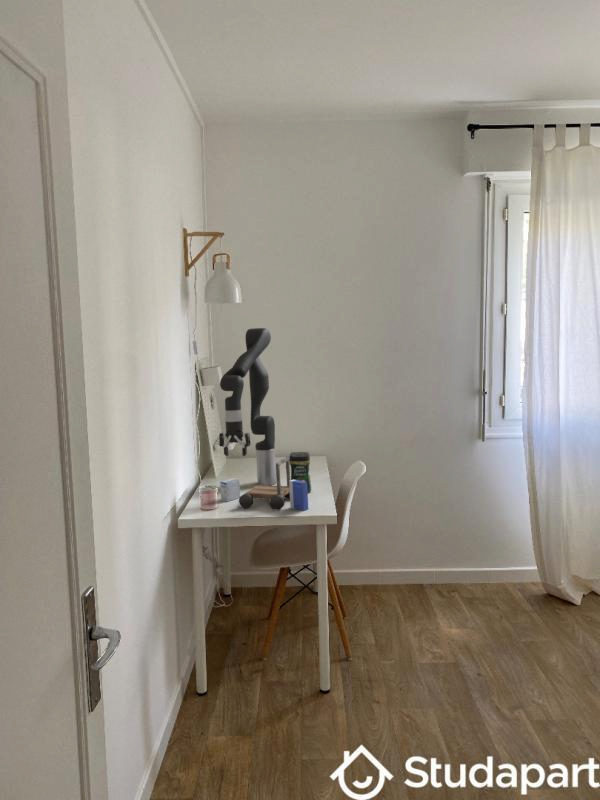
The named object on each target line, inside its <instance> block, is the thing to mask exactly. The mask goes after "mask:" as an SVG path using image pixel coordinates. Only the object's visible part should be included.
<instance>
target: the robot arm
mask: <svg viewBox="0 0 600 800" xmlns="http://www.w3.org/2000/svg"><path fill="white" fill-rule="evenodd" d="M271 337H272V336H271V332H270V331H269V329H267V328H266V327H258V328H256V327H255V328H249V329H247V330H246V333H245V337H244V338H245V348H246V351H245V352H243V353H242V354H241V355H240V356H238V358H237V359H236V361H235V362H234V364H233V366H232V367H230V369H228V371H226V372H225V373H224V374H223V375H222V377H221V379H220V382H219V386H220V389H221V390H222V391H224V392H232V394H231V395H230V396H227V397H225V399H224V407H225V408H224V410H225V411H224V412H225V413H224V421H225V432H223V431H222V432H220V433H219V435H218V436H219V442H218V443H219V446H220V447H223V455H224V456H225V457H228V456H229V447H228V446H229V444H230V443H231V444H232V443H235V444H239V445H240V446H241V447H242V449H241V450H242V457H246V456H247V454H248V447H250V446H251V445H252V444H251V435H250V434H251V433H252V434H253V435H255V436H264V439H262V440H261V441H258V442H256V443H255V447H254V448H255V457H256V458H255V459H256V460H255V462H256V463H255V464H256V476H257V477H256V478H257V485H259V484H263V485H267V486H274V485H275V484H276V485H277V478H276V463H277V462H276V449H275V443H276V427H275V426H276V424H275V420H274V417H273V416H272V415H261V407H262V403H263V401H264V400H265V398H266V396H267V394H268V392H269V390H270V389H269V388H270V381H269V373H268V371H267V369H266V368H265V366H264V365H263V363H262V361H261V359H260V356H261V354H263V352H264V351H265V350H266V348H268V346H269V345H270V343H271V339H272V338H271ZM248 372H249V374H248ZM247 374H248V378H249V390H250V391H249V393H250V394H249V395H250V430H251V433H250V432H245V433H244V431H243V414H242V413H243V412H242V403H241V402H242V401H241V400H242V396H243V391H244V386H245V383H244V379H243V378H245V377H246V376H247ZM225 437H226V439H225Z"/></svg>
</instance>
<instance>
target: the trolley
mask: <svg viewBox="0 0 600 800" xmlns="http://www.w3.org/2000/svg"><path fill="white" fill-rule="evenodd" d="M289 458H290V456H286V457H284V458H282V459H281V460H279V461H278V462H275V463H276V481H277V483H276V485H263V484H259V485H258V484H257V485H255V486H254V487H252V488H251V489H249V490H247V491H246V492H244V494H241V495H240V498H238V504H239V505H240V506H241V508H243V509H249V508H251V507H252V506H253V504H254V502H255V500H254V499H262V500H263V499H264V500H265V499H266V500H269V506H270V507H271V508H272V509H273V510H275V511H278V510H281V509H283V508H284V506H285V503H286V501H285V499H287V500H289V499H290V491H289V490H290V488H289V481H290V480H291V465H290V463H289ZM283 464H285V470H286V471H285V472H286V473H285V474H286V485H281V484H282V483H281V471H280V470H281V468H280V466H281V465H283ZM284 498H285V499H284Z"/></svg>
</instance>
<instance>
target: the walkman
mask: <svg viewBox="0 0 600 800" xmlns="http://www.w3.org/2000/svg"><path fill="white" fill-rule="evenodd" d="M289 488H290V490H289V491H290V500H289V503H290V504H289V506H290V509H294V510H299V511H306V510H309V496H308V492H307V482H305V481H304V480H302V481H300V480H291V479H290V481H289Z"/></svg>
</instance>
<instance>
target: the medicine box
mask: <svg viewBox="0 0 600 800" xmlns="http://www.w3.org/2000/svg"><path fill="white" fill-rule="evenodd" d="M219 484H220V499H221V502H227V503H228V502H231V501H234V500H237V499H239V498H240V497H241V488H240V479H239V478H234V477H232V478H229V479H225V480H223V481H220V483H219Z"/></svg>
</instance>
